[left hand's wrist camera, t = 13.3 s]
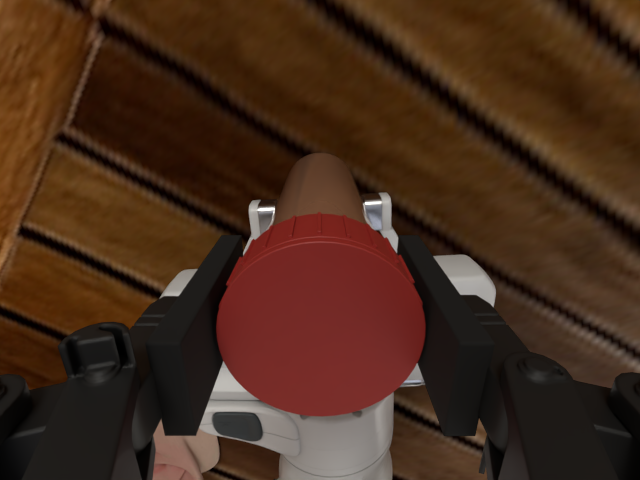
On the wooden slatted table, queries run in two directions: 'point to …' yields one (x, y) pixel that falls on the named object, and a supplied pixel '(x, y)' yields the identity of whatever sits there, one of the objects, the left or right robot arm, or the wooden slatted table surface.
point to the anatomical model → (184, 455)
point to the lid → (320, 317)
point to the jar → (320, 191)
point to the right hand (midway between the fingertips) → (318, 198)
